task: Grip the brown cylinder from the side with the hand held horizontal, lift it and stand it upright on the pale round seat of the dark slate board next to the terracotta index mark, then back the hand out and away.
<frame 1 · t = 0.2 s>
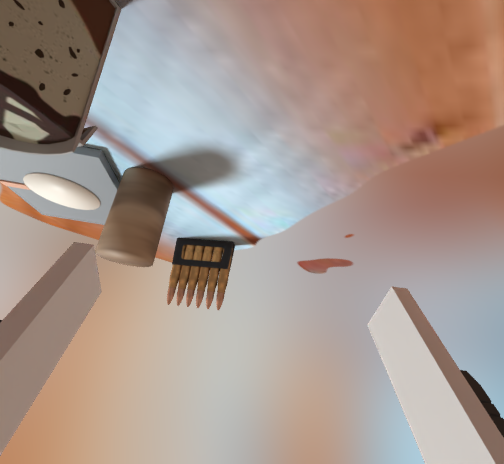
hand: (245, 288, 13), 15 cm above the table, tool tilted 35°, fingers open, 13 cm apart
brown cylinder: (149, 182, 34), on the table
ammunition clip: (206, 240, 52), on the table
seat board: (67, 186, 38), on the table
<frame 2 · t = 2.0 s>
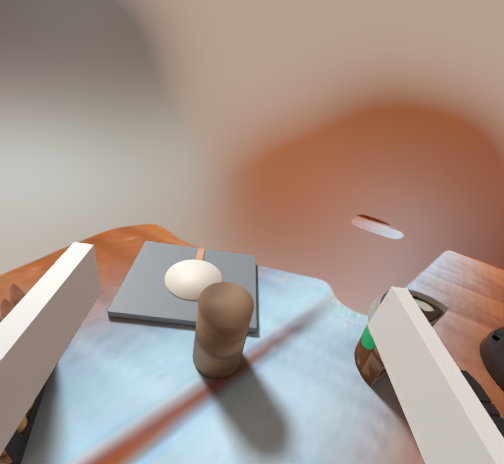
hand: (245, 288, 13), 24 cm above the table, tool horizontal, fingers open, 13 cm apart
brown cylinder: (216, 355, 35), on the table
food container: (371, 352, 40), on the table
ammunition clip: (30, 402, 28), on the table
seat board: (193, 283, 45), on the table
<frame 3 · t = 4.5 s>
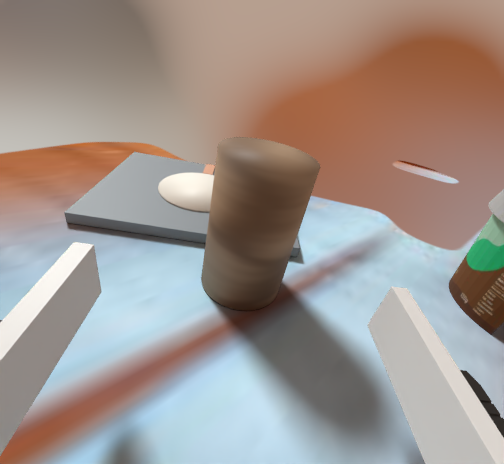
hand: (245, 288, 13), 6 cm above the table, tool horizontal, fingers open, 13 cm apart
brown cylinder: (240, 280, 21), on the table
food container: (472, 292, 26), on the table
seat board: (200, 199, 31), on the table
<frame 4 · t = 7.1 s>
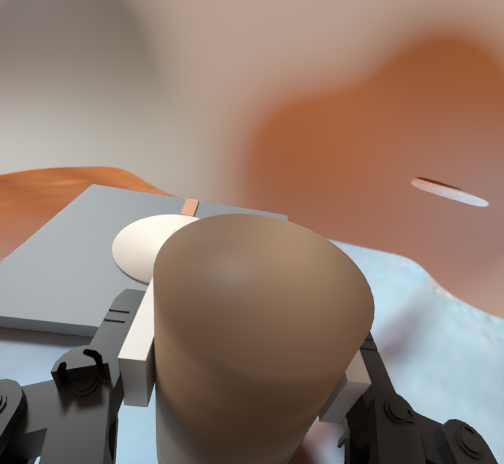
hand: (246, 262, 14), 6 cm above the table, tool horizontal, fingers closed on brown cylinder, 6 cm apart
brown cylinder: (223, 429, 13), on the table, touching gripper
seat board: (174, 255, 23), on the table
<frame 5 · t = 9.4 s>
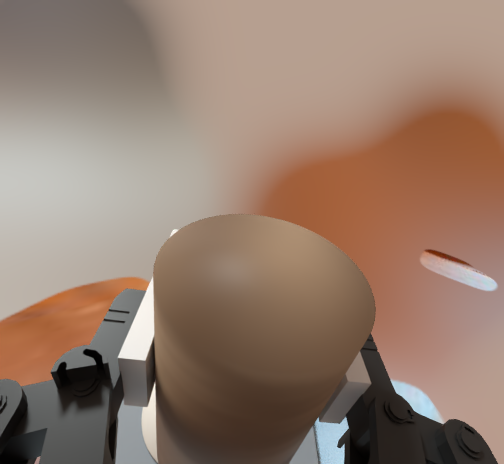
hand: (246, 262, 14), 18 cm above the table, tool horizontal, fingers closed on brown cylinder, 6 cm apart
brown cylinder: (223, 430, 13), point 12 cm above the table, touching gripper
seat board: (197, 413, 24), on the table
when the fingers open (8 cm above the table, at t = 12.1 s): brown cylinder stays where it is, resting on seat board.
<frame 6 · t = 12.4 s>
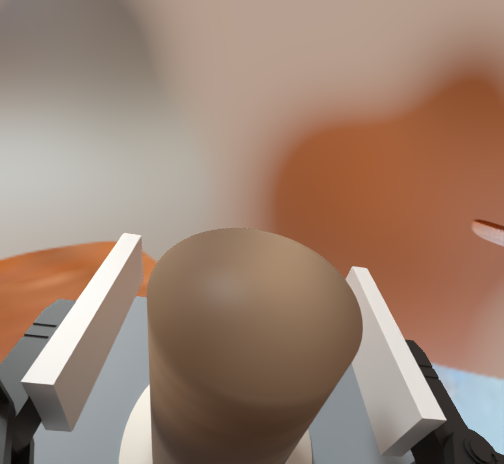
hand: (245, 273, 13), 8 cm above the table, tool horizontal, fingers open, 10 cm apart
brown cylinder: (218, 434, 13), point 1 cm above the table, touching seat board
seat board: (218, 444, 14), on the table
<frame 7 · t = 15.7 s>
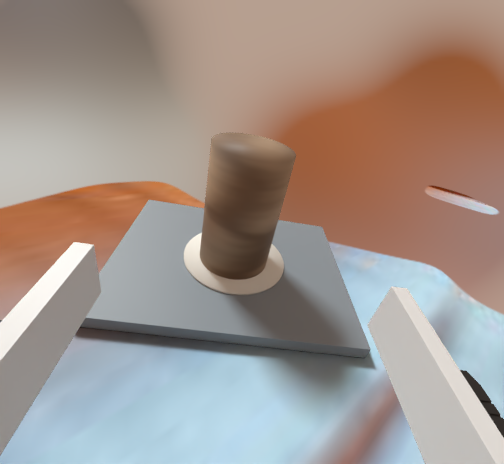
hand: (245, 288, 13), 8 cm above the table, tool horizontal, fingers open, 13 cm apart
brown cylinder: (233, 256, 25), point 1 cm above the table, touching seat board
seat board: (233, 266, 26), on the table
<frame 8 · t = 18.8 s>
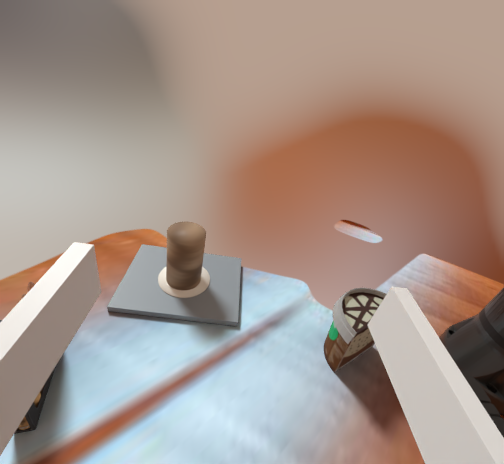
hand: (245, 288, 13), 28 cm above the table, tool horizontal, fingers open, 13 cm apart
brown cylinder: (183, 278, 50), point 1 cm above the table, touching seat board
food container: (339, 344, 46), on the table
ammunition clip: (42, 382, 33), on the table
seat board: (184, 282, 50), on the table
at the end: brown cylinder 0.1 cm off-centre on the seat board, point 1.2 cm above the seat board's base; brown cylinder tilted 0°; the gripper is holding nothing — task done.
